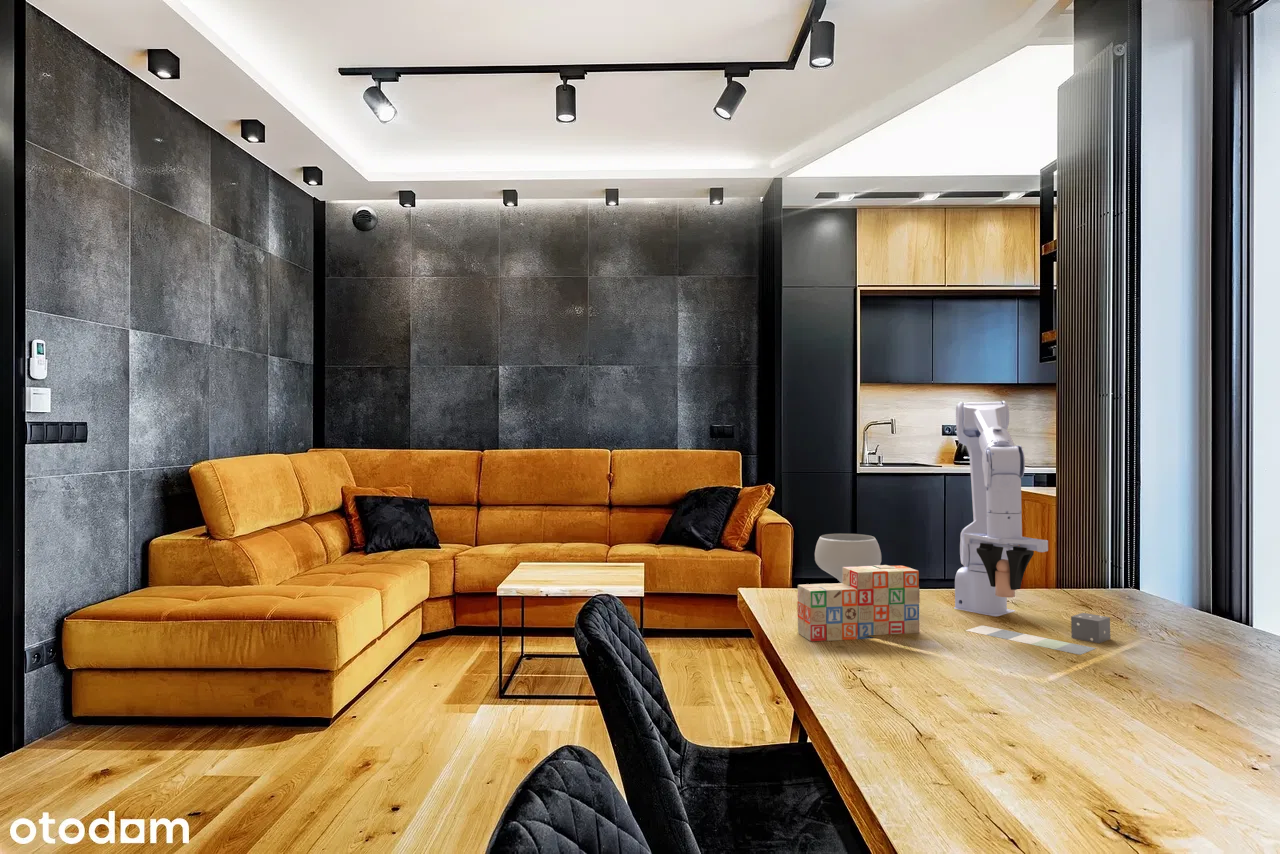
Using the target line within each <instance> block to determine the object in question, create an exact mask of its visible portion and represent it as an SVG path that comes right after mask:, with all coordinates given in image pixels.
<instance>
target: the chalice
mask: <svg viewBox="0 0 1280 854" xmlns="http://www.w3.org/2000/svg"><path fill="white" fill-rule="evenodd" d="M814 561H815V564H816V565H817V566H818V568H820V570H822V571H824V572H826V573H827V574H829V575H830V576H832V577H834V578H835V579H837V581H839V583H842V574H843V568H842V567H859V566H873V565H882V564H881V563H882V552H881V548H880V544H879V543H878V540H877V539H876V537H875V536H872V535H869V534H861V533H826V534H822V535H820V536H819V538H818V540H817V542H816V545H815V550H814Z"/></svg>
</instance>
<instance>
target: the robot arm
mask: <svg viewBox="0 0 1280 854" xmlns="http://www.w3.org/2000/svg"><path fill="white" fill-rule="evenodd" d="M955 408H956V409H955V425H956V427H955V428H956V438H957V441H958V443H959V444H961V445H963V446H965V447H966V448H967V453H968V457H969V469H970V481H971V482H970V483H971V484H970V485H971V500H972V503H971V504H972V515H973V517H972V518H973V521H972V522H971V523H969V524H968V525H966V526H965V527H964V528H962V529H961V532H960V536H959V537H960V542H959V555H960V563H961V565H963V566H962V567H960V568H959V569H958V570H957V571H956V574H955V577H954V603H955V604H954V607H953V609H955V610H960V611H966V612H970V613H975V614H980V615H986V616H990V617H991V616H992V617H1000V616H1003V615H1007V614H1010V613H1013V612H1016V610H1014V609H1009V608H1008V603H1007V602H1008V599H1007V597H999V596H996V595H995V570H997V569H996V564H997V562H998V561H999V560H1001V559H1007V560H1008V562H1009V568H1010V587H1011V590H1015V591H1017V590H1020V589H1021V586H1022V584H1023V583H1022V582H1023V579H1024V576H1025V573H1026V570H1027V566H1028V565H1029V563H1030V561H1031V560H1032V559H1033V556H1034V553H1035V551H1036V552H1038V553H1045V552H1048V551H1049V540H1047V539H1040V538H1032V537H1026V536H1023V523H1022V522H1023V520H1022V519H1023V517H1022V512H1023V511H1022V479H1021V478H1023V477H1024V475H1025V470H1026V469H1025V468H1026V459H1025V457H1026V456H1025V452H1024V448H1023V446H1022V445H1015V443H1014V441H1013V437H1012V435H1011V433H1010V432H1009V431H1008V427H1009V424H1010V409H1009V408H1010V407H1009V404H1008V403H1007V402H1006V401H1005V400H1001V401H970V402H969V401H968V402H965V401H964V402H963V401H958V403H957V404H956V407H955Z"/></svg>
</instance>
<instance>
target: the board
mask: <svg viewBox="0 0 1280 854" xmlns="http://www.w3.org/2000/svg"><path fill="white" fill-rule="evenodd" d="M965 632H969V633H970V632H971V633H973V634H978V635H985V636H989V637H994V638H998V639H1002V640H1003V639H1004V640H1007V641H1013V642H1017V643H1021V644H1022V643H1023V644H1027V645H1032V646H1035V647H1040V648H1046V649H1050V650H1053V651H1054V650H1055V651H1061V652H1065V653H1068V654H1074V655H1078V656H1080V655H1083V654H1086V653H1088V652H1091V651H1094V650H1096V649H1097V648H1096V647H1091V646H1087V645H1083V644H1077V643H1073V642H1072V643H1071V642H1067V641H1062V640H1058V639H1057V640H1056V639H1053V638H1046V637H1042V636H1038V635H1032V634H1026V633H1023V632H1017V631H1011V630H1007V629H1003V628H1002V629H1001V628H997V627H992V626H989V625H988V626H987V625H979V626H975V627H971V628H969V629H966V630H965Z"/></svg>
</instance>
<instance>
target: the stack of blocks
mask: <svg viewBox="0 0 1280 854" xmlns="http://www.w3.org/2000/svg"><path fill="white" fill-rule="evenodd" d="M842 568H843V574H842V583H841V582H838V583H810V584H809V583H806V584H797V602H796V603H797V605H796V606H797V607H796V608H797V633H798V634H799V635H801V636H802V637H803V638H804V639H806V640H808V641H809V642H822V641H827V642H828V641H829V642H830V641H831V642H832V641H842V640H843V641H846V640H847V641H848V640H849V641H852V640H866V639H867V640H868V639H875V637H874V636H877V635H878V636H879V635H882V636H883V635H897V634H898V635H899V634H902V635H903V634H904V635H905V634H919V633H920V632H921V631H920V601H921V598H920V586H919V582H920V581H919V580H920V578H919V576H920V572H919V570H918V569H914V568H911V567H909V566H905V565H888V564H880V565H873V566H859V567H842Z"/></svg>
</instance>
